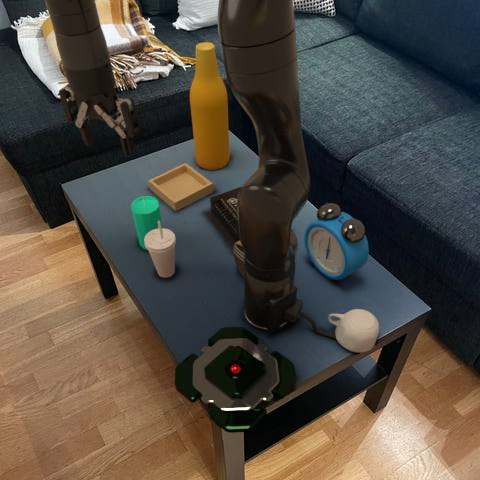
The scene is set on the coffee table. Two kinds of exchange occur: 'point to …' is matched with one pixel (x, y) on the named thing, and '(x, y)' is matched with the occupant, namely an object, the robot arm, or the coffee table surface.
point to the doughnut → (239, 256)
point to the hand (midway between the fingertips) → (109, 148)
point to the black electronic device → (225, 215)
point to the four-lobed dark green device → (235, 378)
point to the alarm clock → (336, 242)
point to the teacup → (356, 330)
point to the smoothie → (162, 250)
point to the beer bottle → (209, 111)
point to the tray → (180, 186)
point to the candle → (145, 216)
